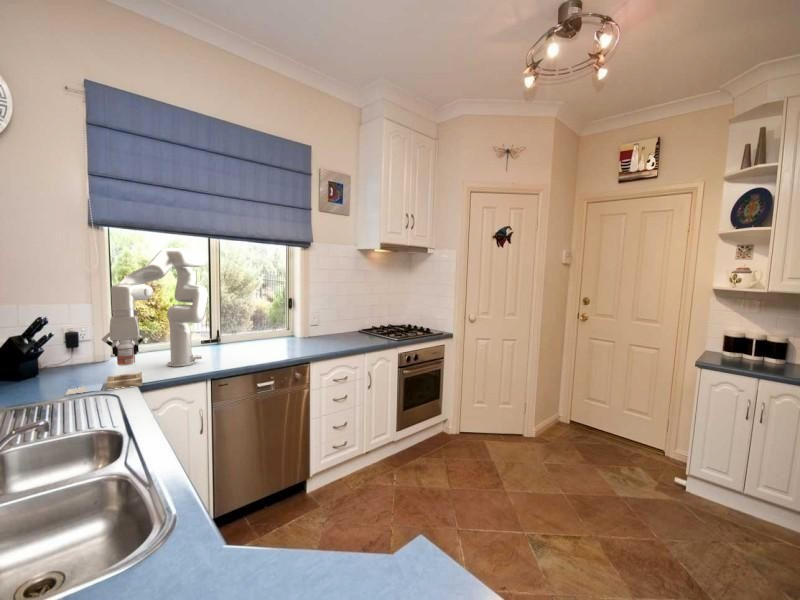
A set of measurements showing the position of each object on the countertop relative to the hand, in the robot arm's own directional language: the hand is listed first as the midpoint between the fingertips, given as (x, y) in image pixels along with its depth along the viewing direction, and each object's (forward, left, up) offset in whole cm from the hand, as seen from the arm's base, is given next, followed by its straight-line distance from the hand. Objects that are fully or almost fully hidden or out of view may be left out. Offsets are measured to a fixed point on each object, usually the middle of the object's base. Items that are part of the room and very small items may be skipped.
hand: (126, 354), depth 156 cm
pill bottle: (0, 0, -4) cm, 4 cm away
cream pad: (+14, 0, -13) cm, 19 cm away
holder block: (+1, 0, -13) cm, 13 cm away
